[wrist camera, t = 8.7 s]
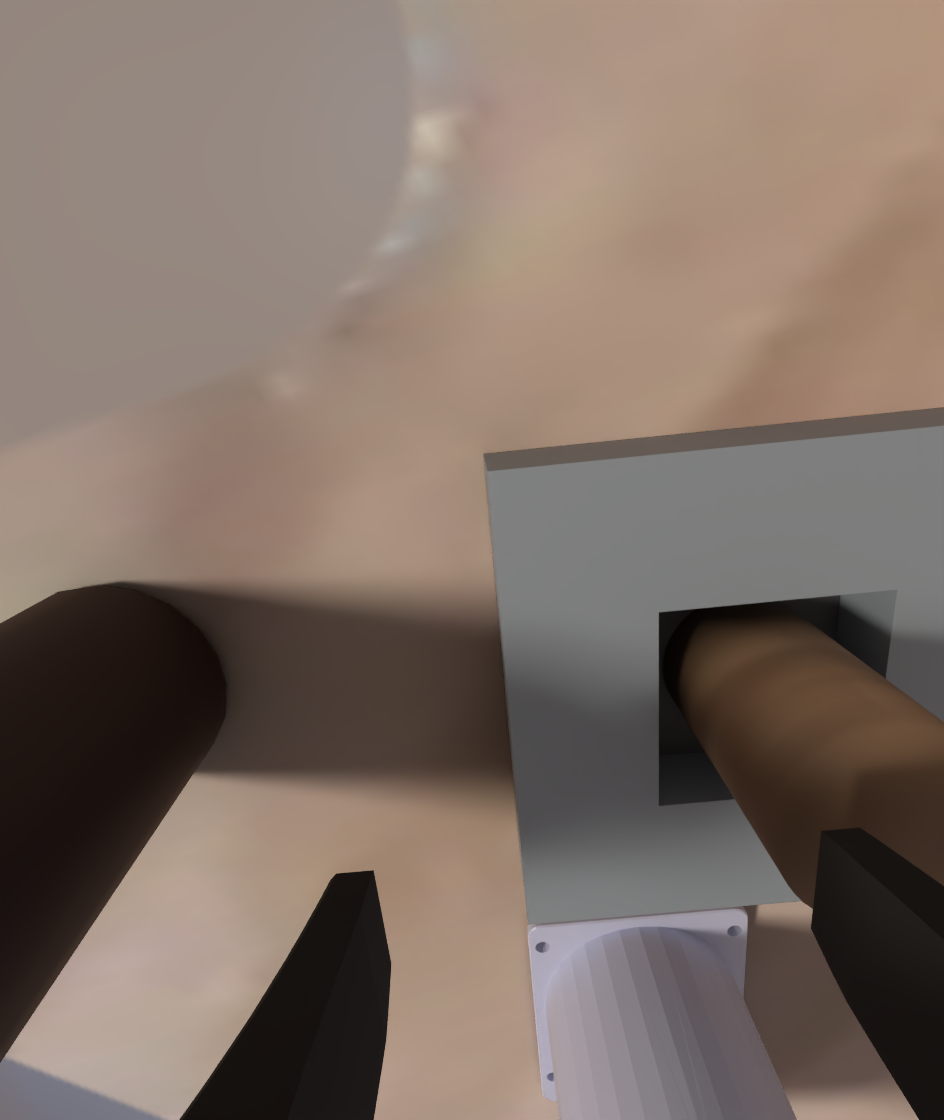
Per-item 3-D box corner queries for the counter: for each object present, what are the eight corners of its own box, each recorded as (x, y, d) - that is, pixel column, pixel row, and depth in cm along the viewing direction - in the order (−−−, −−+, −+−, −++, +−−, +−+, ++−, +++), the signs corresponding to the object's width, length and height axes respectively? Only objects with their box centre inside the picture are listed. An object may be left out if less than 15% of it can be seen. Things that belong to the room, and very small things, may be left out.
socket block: (917, 813, 21) (989, 884, 18) (519, 849, 21) (528, 924, 18) (984, 403, 16) (1094, 410, 14) (483, 454, 17) (487, 471, 14)
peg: (799, 719, 19) (985, 917, 12) (659, 726, 19) (766, 927, 12) (818, 588, 17) (1040, 729, 11) (666, 596, 17) (791, 741, 11)
